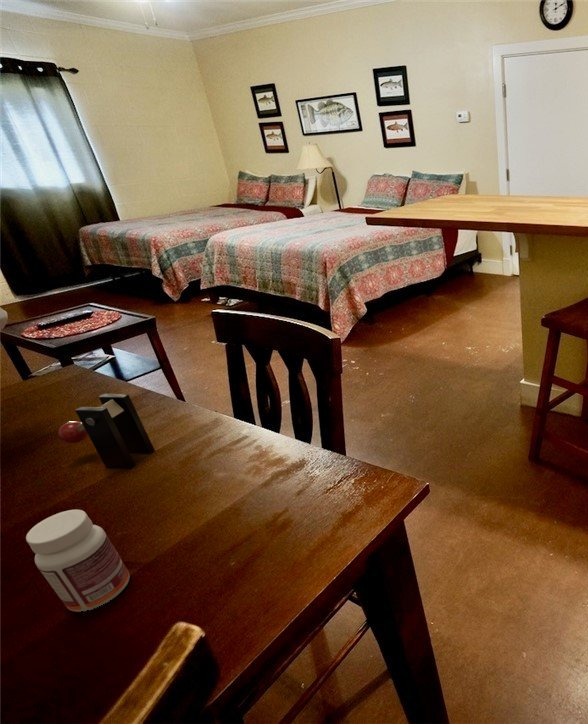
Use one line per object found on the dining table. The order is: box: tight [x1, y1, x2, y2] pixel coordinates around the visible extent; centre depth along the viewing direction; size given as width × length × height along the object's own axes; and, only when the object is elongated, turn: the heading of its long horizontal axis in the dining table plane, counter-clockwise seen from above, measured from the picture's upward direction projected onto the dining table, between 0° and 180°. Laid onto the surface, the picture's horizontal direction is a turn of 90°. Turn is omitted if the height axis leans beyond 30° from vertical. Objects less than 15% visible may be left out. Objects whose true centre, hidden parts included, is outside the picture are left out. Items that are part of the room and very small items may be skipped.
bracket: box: [74, 393, 156, 470], centre depth 78 cm, size 9×7×13 cm
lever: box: [57, 399, 124, 444], centre depth 77 cm, size 12×4×4 cm, turn 84°
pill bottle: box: [25, 509, 131, 613], centre depth 56 cm, size 6×6×11 cm
